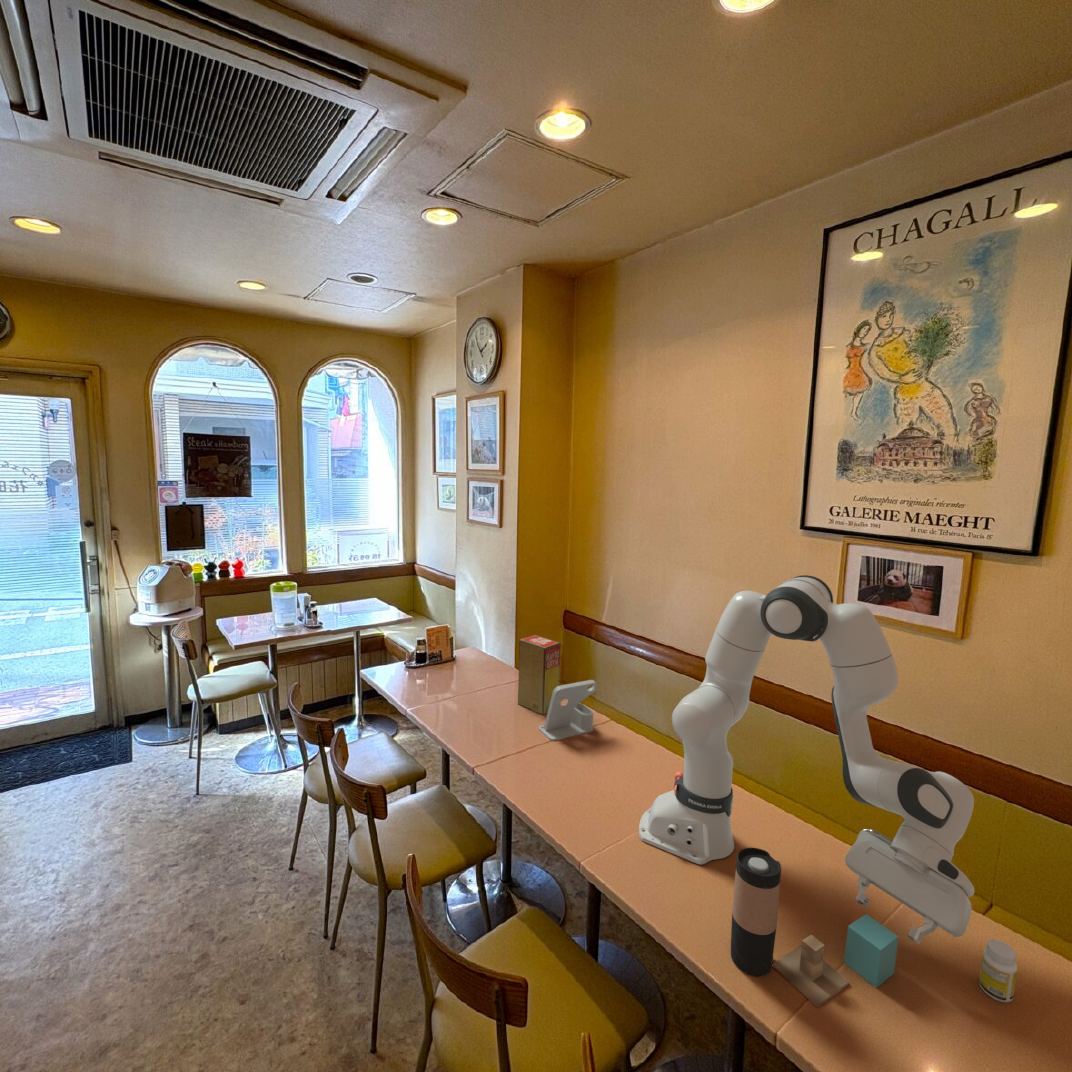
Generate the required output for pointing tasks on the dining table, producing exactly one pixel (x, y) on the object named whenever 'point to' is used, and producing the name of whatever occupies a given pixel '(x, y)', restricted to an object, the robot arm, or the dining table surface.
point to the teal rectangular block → (871, 950)
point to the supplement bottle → (998, 971)
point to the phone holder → (569, 711)
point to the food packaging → (538, 672)
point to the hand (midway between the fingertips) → (885, 921)
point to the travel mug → (755, 911)
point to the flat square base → (811, 972)
